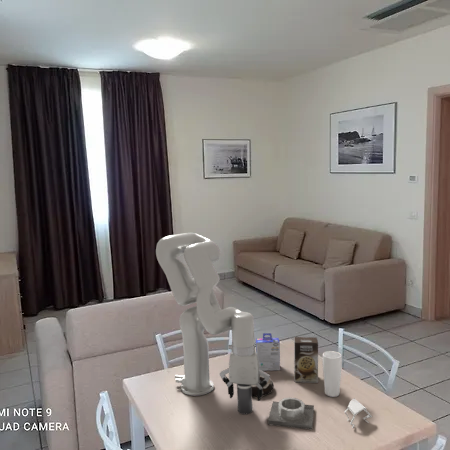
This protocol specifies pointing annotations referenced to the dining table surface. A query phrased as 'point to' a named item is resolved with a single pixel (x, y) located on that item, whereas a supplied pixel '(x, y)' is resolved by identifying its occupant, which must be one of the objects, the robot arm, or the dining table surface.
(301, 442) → the dining table surface
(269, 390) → the donut
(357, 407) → the origami figure
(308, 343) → the coffee box
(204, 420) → the dining table surface
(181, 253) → the robot arm
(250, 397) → the lens
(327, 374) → the drinking glass
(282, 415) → the mount
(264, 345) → the ink cartridge box
